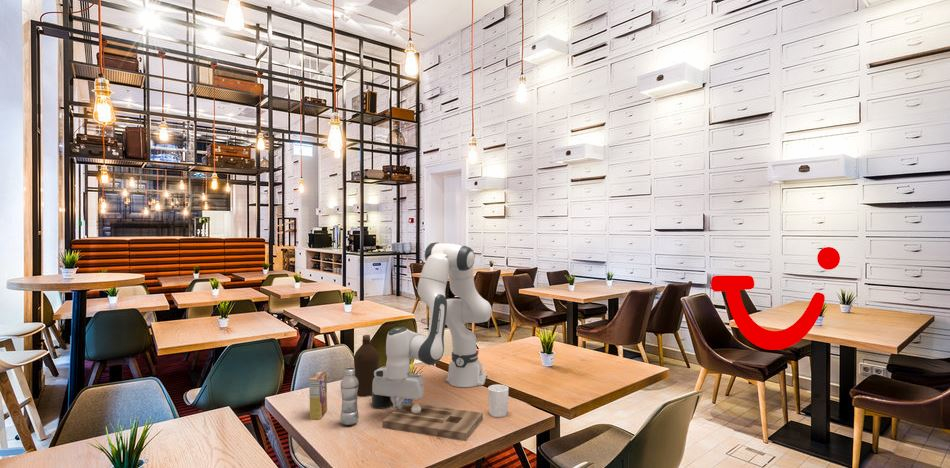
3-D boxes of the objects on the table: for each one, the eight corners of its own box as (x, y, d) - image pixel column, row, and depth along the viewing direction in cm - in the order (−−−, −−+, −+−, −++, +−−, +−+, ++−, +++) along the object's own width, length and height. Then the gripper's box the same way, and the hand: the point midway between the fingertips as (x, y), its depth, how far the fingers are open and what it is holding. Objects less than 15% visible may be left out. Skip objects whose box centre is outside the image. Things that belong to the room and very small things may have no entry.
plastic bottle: (352, 418, 168) (352, 365, 168) (362, 423, 163) (362, 369, 163) (336, 423, 163) (336, 368, 163) (346, 429, 158) (346, 372, 158)
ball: (414, 411, 168) (414, 402, 168) (422, 412, 167) (422, 403, 167) (409, 415, 164) (409, 405, 164) (418, 416, 163) (418, 406, 163)
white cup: (507, 418, 167) (507, 392, 167) (486, 417, 169) (486, 390, 169) (509, 410, 175) (509, 385, 175) (489, 409, 176) (489, 383, 176)
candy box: (316, 410, 176) (316, 371, 176) (327, 410, 176) (327, 371, 176) (308, 419, 167) (308, 378, 167) (320, 419, 167) (320, 378, 167)
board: (382, 427, 160) (382, 417, 160) (405, 408, 177) (405, 399, 177) (466, 440, 149) (466, 429, 149) (482, 419, 166) (482, 409, 166)
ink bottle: (392, 399, 187) (392, 370, 187) (396, 407, 179) (396, 377, 179) (369, 402, 184) (369, 373, 184) (372, 410, 176) (372, 379, 176)
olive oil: (378, 396, 191) (378, 337, 191) (352, 397, 189) (352, 338, 189) (379, 387, 201) (379, 332, 201) (355, 389, 200) (355, 333, 200)
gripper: (426, 371, 168) (426, 408, 168) (378, 366, 174) (379, 402, 174) (419, 376, 162) (419, 415, 162) (370, 371, 168) (370, 408, 168)
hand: (398, 408), depth 168 cm, fingers closed
